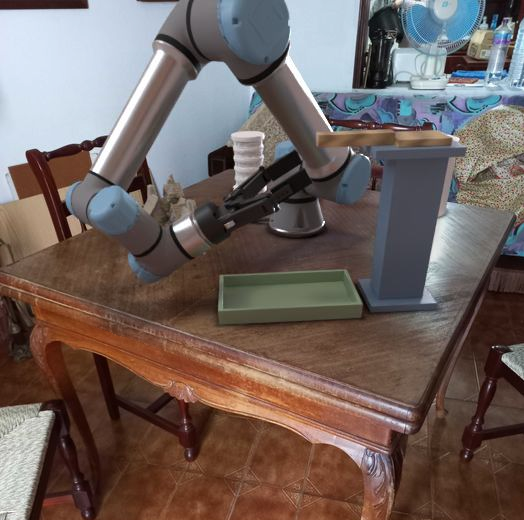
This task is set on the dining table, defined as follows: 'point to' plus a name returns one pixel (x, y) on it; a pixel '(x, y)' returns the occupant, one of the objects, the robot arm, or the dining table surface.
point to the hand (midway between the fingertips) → (303, 164)
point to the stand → (406, 225)
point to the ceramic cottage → (168, 203)
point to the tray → (287, 297)
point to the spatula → (382, 138)
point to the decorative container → (247, 155)
